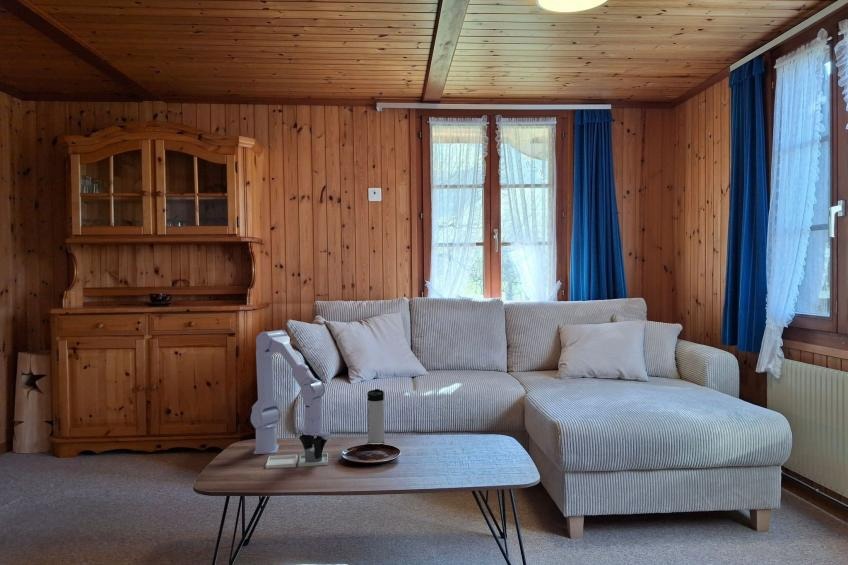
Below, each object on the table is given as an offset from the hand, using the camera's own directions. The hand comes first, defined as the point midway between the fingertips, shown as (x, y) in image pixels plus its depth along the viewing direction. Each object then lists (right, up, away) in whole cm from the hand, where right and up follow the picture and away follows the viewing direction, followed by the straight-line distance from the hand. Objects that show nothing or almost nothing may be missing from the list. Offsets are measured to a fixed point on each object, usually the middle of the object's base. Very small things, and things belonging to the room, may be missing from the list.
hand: (313, 456), depth 191 cm
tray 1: (-10, -2, -2) cm, 11 cm away
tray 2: (0, -2, 0) cm, 2 cm away
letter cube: (0, -1, 0) cm, 1 cm away
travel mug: (+20, -1, +20) cm, 28 cm away
